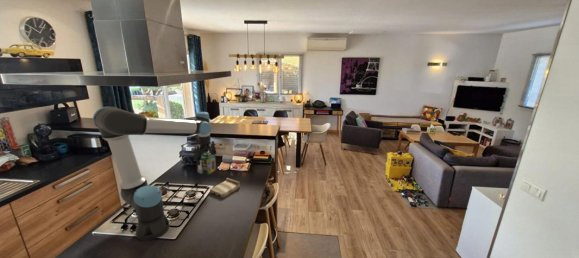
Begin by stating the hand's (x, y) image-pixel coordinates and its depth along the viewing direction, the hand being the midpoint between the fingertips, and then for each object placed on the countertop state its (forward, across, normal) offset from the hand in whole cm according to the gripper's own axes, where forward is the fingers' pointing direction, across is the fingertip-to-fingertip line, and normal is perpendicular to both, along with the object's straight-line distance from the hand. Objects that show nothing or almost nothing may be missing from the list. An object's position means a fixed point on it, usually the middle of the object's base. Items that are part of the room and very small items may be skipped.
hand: (206, 166), depth 156 cm
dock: (+17, +6, -12) cm, 21 cm away
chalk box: (+4, 0, 0) cm, 4 cm away
